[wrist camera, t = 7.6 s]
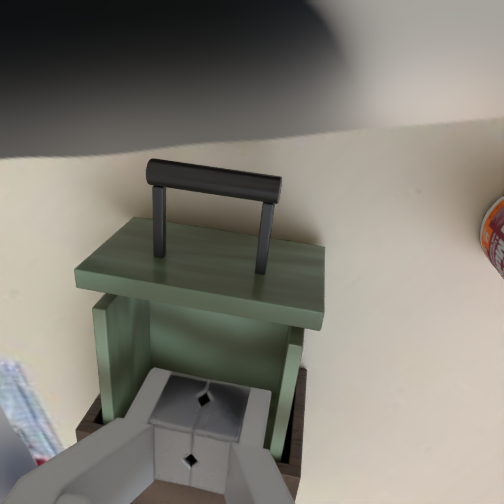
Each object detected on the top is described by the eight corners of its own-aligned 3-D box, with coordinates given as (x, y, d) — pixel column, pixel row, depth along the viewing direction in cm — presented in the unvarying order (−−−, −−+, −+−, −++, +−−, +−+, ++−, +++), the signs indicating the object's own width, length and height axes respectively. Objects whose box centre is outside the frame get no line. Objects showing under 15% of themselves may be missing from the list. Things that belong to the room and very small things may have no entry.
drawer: (130, 133, 26) (61, 163, 19) (341, 162, 25) (347, 206, 18) (139, 363, 35) (93, 440, 28) (295, 393, 34) (287, 482, 27)
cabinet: (135, 337, 35) (75, 429, 27) (307, 369, 34) (300, 478, 25) (140, 451, 42) (92, 554, 33) (283, 482, 40) (272, 598, 32)
